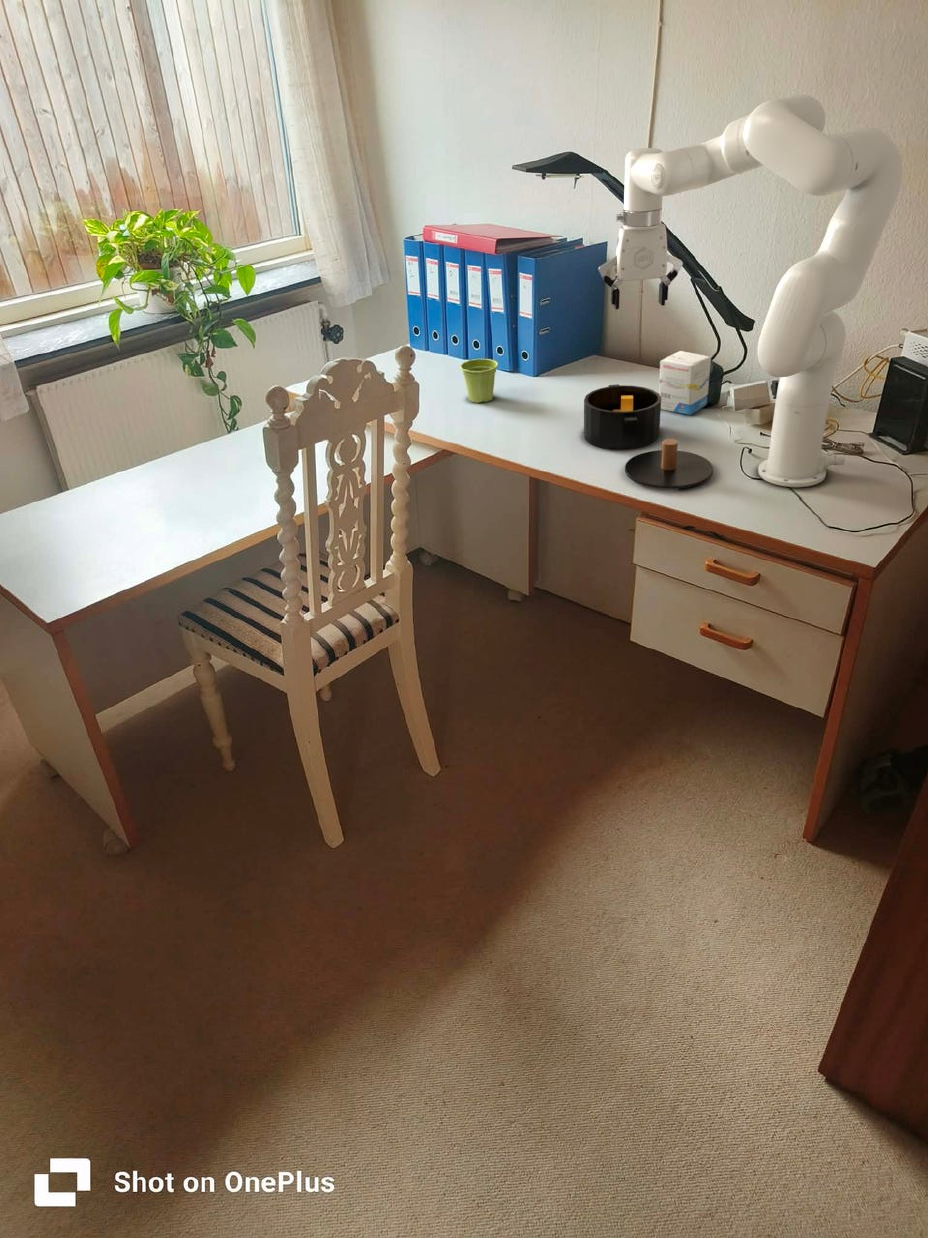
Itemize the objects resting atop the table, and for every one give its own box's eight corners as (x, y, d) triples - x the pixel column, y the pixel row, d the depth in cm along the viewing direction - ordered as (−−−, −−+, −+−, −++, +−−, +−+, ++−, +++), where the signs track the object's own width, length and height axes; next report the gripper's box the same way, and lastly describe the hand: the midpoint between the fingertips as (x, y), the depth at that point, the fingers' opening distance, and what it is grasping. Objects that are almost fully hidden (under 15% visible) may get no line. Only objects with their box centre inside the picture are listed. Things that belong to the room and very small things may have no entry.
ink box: (708, 404, 206) (712, 355, 199) (689, 415, 201) (693, 365, 194) (676, 397, 211) (679, 349, 204) (657, 408, 206) (659, 359, 199)
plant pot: (506, 394, 221) (505, 360, 216) (487, 407, 214) (485, 372, 210) (475, 390, 225) (473, 356, 220) (455, 402, 219) (452, 368, 214)
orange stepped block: (612, 423, 199) (613, 395, 196) (631, 422, 199) (633, 395, 195) (613, 444, 190) (614, 415, 186) (633, 443, 189) (634, 415, 185)
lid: (700, 452, 184) (702, 421, 180) (722, 487, 170) (726, 455, 166) (617, 458, 184) (618, 428, 181) (633, 494, 170) (635, 463, 166)
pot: (648, 414, 203) (649, 378, 199) (669, 451, 185) (671, 413, 181) (577, 419, 204) (577, 384, 199) (592, 457, 186) (592, 419, 181)
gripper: (602, 225, 172) (600, 313, 182) (690, 218, 172) (683, 307, 182) (596, 218, 178) (595, 304, 188) (681, 211, 178) (675, 297, 188)
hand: (638, 305), depth 185 cm, fingers open, 9 cm apart
